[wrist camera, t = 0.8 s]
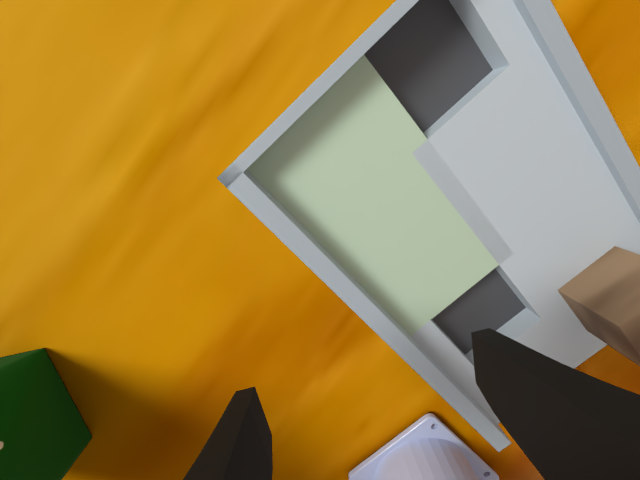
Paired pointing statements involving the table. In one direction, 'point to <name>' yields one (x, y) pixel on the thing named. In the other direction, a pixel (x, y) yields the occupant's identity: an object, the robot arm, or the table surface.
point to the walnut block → (609, 300)
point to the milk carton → (37, 420)
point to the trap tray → (451, 185)
